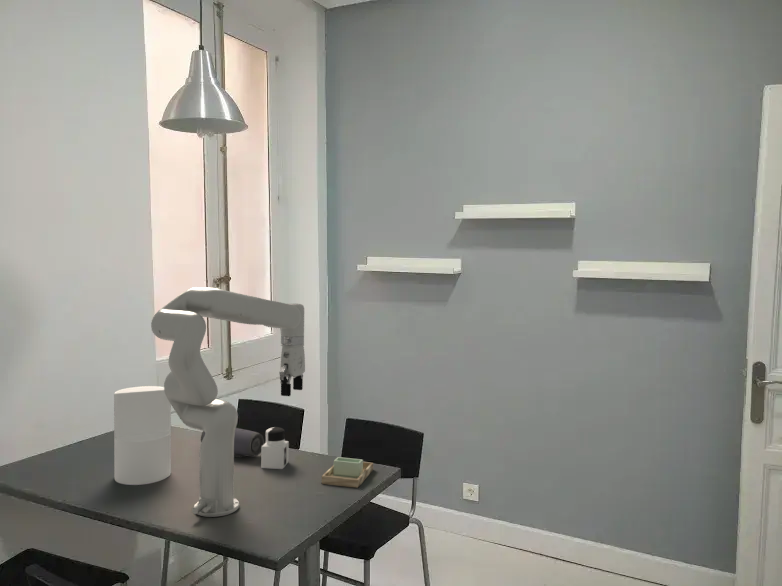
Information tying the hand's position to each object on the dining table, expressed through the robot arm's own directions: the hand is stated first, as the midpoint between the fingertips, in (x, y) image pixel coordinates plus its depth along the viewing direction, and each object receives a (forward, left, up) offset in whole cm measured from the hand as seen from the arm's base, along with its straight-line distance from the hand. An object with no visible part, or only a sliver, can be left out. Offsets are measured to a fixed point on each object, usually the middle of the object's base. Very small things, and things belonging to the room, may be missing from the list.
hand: (291, 392), depth 200 cm
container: (+9, +10, -28) cm, 32 cm away
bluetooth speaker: (+15, +30, -29) cm, 44 cm away
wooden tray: (+6, -18, -28) cm, 34 cm away
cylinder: (-13, +47, -28) cm, 56 cm away
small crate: (+6, -18, -28) cm, 34 cm away
